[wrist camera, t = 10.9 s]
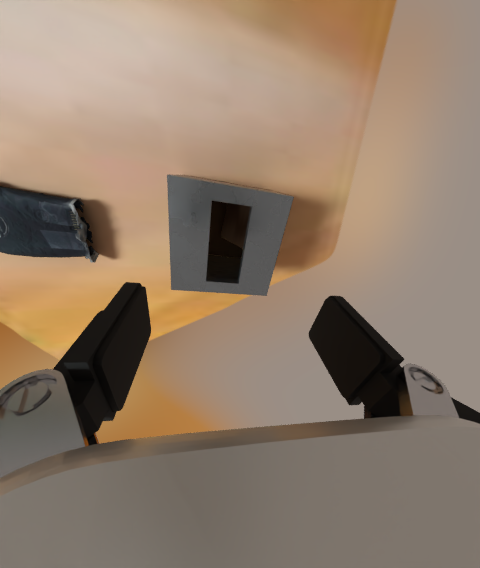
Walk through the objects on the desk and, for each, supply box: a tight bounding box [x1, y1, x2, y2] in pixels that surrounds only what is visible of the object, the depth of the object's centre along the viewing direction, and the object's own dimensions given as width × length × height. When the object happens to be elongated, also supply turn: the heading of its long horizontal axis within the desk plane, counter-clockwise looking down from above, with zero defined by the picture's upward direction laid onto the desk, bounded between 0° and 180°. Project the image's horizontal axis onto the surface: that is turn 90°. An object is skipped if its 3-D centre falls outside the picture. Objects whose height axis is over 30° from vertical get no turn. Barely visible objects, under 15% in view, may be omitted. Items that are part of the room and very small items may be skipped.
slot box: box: [167, 175, 294, 296], centre depth 24 cm, size 12×12×10 cm
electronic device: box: [0, 186, 99, 262], centre depth 24 cm, size 9×6×15 cm
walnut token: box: [221, 203, 250, 249], centre depth 26 cm, size 6×2×5 cm
